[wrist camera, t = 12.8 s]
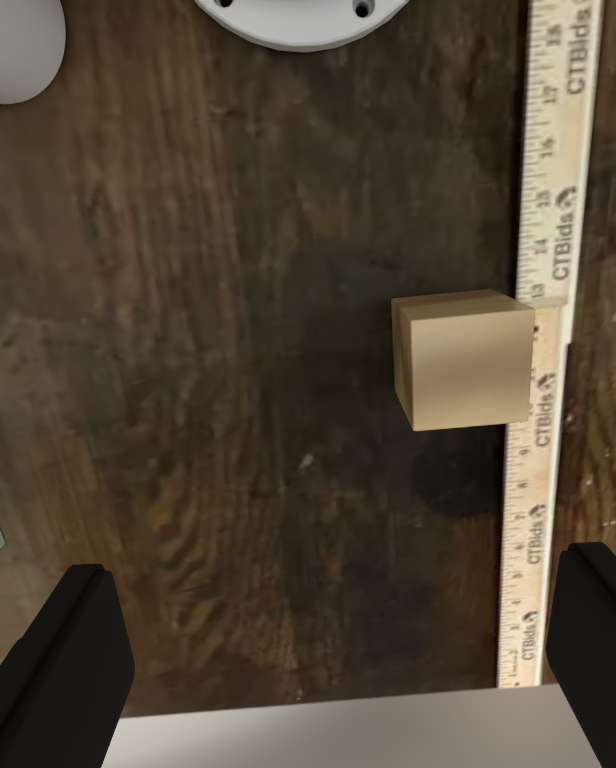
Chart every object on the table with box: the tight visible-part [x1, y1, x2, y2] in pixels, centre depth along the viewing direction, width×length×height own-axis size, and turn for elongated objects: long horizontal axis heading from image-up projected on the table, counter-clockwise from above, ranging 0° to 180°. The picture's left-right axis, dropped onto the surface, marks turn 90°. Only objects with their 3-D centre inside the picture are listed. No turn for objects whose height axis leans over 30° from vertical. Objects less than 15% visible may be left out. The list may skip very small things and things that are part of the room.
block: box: [391, 289, 535, 431], centre depth 22 cm, size 5×5×5 cm
